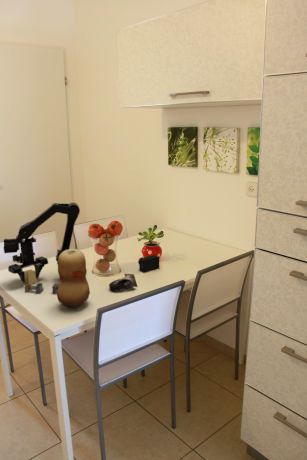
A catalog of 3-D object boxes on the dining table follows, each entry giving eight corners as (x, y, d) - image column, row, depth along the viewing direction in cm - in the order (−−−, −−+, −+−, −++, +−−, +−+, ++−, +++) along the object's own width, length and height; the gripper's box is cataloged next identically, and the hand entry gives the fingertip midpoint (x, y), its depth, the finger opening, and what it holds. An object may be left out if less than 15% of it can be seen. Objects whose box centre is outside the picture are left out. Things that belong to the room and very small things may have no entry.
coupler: (32, 281, 196) (30, 269, 194) (36, 283, 193) (35, 271, 191) (24, 283, 193) (23, 271, 191) (29, 285, 190) (27, 273, 188)
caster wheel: (108, 294, 185) (122, 285, 192) (124, 296, 177) (138, 286, 184) (104, 282, 183) (118, 272, 190) (120, 283, 176) (134, 273, 182)
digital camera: (153, 266, 214) (153, 253, 212) (159, 268, 210) (159, 256, 208) (138, 270, 208) (137, 258, 206) (143, 273, 204) (143, 260, 202)
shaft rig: (23, 293, 181) (22, 286, 180) (26, 289, 186) (26, 282, 185) (69, 294, 180) (69, 286, 179) (72, 290, 184) (71, 282, 183)
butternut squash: (66, 315, 159) (61, 258, 153) (53, 304, 170) (48, 250, 163) (96, 306, 167) (92, 251, 161) (82, 296, 178) (78, 243, 171)
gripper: (35, 243, 200) (38, 271, 204) (0, 252, 187) (4, 282, 191) (47, 247, 193) (50, 277, 197) (12, 257, 180) (16, 288, 184)
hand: (30, 281), depth 193 cm, fingers open, 7 cm apart
